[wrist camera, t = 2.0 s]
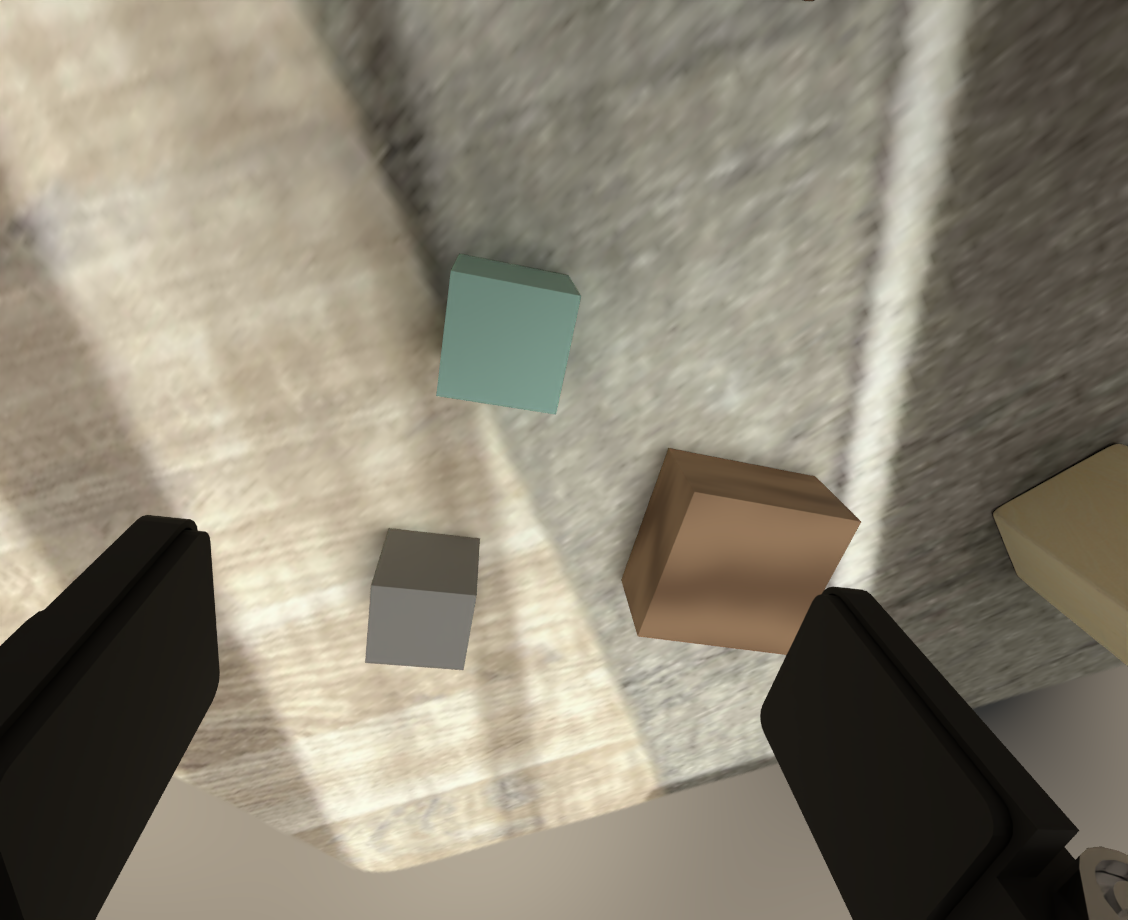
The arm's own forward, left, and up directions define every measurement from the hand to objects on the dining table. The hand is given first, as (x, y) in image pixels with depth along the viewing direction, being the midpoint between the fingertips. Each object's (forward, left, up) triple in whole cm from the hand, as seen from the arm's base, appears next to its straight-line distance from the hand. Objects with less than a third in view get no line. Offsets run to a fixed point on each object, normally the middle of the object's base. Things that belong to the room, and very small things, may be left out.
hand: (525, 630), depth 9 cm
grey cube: (+15, -2, -21) cm, 26 cm away
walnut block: (+10, +14, -21) cm, 27 cm away
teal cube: (0, 0, -21) cm, 21 cm away
